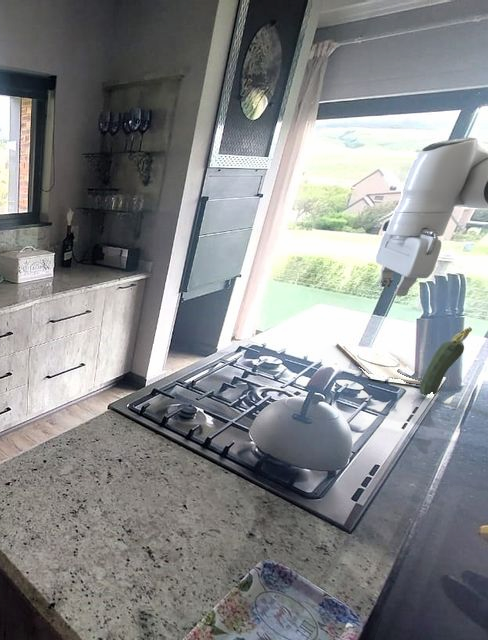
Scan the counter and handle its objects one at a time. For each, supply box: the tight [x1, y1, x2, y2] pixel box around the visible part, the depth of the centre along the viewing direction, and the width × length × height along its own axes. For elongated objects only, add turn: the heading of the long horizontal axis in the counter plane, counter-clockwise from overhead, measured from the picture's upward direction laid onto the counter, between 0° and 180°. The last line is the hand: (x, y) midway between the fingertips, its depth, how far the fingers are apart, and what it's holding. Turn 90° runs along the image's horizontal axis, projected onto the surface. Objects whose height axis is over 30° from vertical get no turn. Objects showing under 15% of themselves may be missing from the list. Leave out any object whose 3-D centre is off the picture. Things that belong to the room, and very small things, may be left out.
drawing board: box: [335, 343, 420, 385], centre depth 125 cm, size 14×26×1 cm, turn 160°
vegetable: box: [419, 326, 473, 396], centre depth 104 cm, size 4×4×20 cm
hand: (391, 290), depth 92 cm, fingers open, 8 cm apart
